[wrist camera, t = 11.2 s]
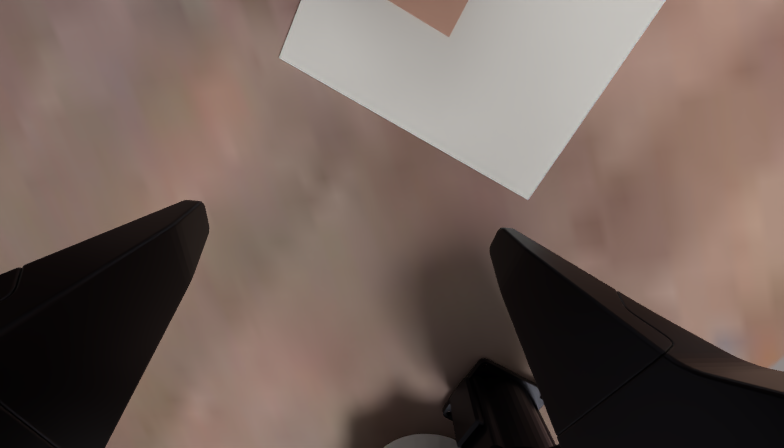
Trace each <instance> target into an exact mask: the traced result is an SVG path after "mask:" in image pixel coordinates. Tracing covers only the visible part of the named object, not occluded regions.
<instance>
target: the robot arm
mask: <svg viewBox="0 0 784 448" xmlns="http://www.w3.org/2000/svg"><path fill="white" fill-rule="evenodd" d="M208 234H209V223H208V218H207V214H206V209H205V205H204V204H203V203H202V202H201V201H192V200H184V201H181V202H179V203H176V204H174V205H171V206H169V207H167V208H164V209H162V210H159V211H157V212H154V213H152V214H149V215H147V216H144V217H142V218H139V219H137V220H134V221H132V222H129V223H127V224H125V225H122V226H120V227H117V228H115V229H112V230H110V231H107V232H105V233H102V234H100V235H97V236H95V237H92V238H90V239H87V240H85V241H83V242H80V243H78V244H75V245H73V246H70V247H68V248H65V249H63V250H60V251H58V252H55V253H53V254H50V255H48V256H45V257H43V258H41V259H38V260H36V261H33V262H31V263H28V264H26V265H24V266H23V268H16V269H13V270H11V271H8V272H6V273H3V274H1V275H0V448H105V447H106V445H107V443H108V441H109V439H110V437H111V435H112V433H113V431H114V429H115V427H116V425H117V423H118V422H119V420H120V418H121V416H122V414H123V412H124V410H125V408H126V406H127V404H128V402H129V400H130V398H131V396H132V395H133V393H134V391H135V389H136V387H137V385H138V383H139V381H140V379H141V377H142V375H143V373H144V371H145V369H146V368H147V366H148V364H149V362H150V360H151V358H152V356H153V354H154V352H155V350H156V348H157V346H158V344H159V342H160V340H161V339H162V337H163V335H164V333H165V331H166V329H167V327H168V325H169V323H170V321H171V319H172V317H173V315H174V313H175V312H176V310H177V308H178V306H179V304H180V302H181V300H182V298H183V296H184V294H185V292H186V290H187V288H188V286H189V284H190V282H191V280H192V278H193V275H194V273H195V270H196V267H197V264H198V262H199V259H200V256H201V253H202V251H203V248H204V245H205V242H206V240H207V237H208ZM490 255H491V259H492V263H493V267H494V270H495V274H496V278H497V281H498V285H499V288H500V292H501V294H502V297H503V300H504V302H505V305H506V307H507V310H508V313H509V315H510V318H511V320H512V323H513V325H514V328H515V330H516V333H517V336H518V338H519V341H520V343H521V346H522V348H523V351H524V354H525V356H526V359H527V361H528V364H529V366H530V369H531V372H532V374H533V377H534V379H535V382H536V384H535V383H533V382H531V381H529V380H527V379H525V378H523V377H521V376H519V375H517V374H515V373H513V372H512V371H510V370H508V369H506V368H504V367H502V366H500V365H498V364H496V363H494V362H492V361H490V360H488V359H486V358H483V359H480V360H479V361H478V363H477V364H476V365H475V367H474V368H473V369H472V370H471V372H470V373H469V374H468V376H467V377H466V378H464V379H463V381H462V382H461V383H460V385H459V386H458V387H457V389H456V390H455V391H454V393H453V394H452V395H451V396H450V398H449V401H448V402H447V403H446V405H445V406H444V407H443V415H444V417H446V418H448V419H450V420H452V421H453V425H454V431H455V437H456V443H457V446H458V448H784V372H782V371H777V370H773V369H769V368H765V367H761V366H758V365H755V364H752V363H749V362H747V361H744V360H742V359H740V358H737V357H735V356H733V355H731V354H729V353H727V352H725V351H724V350H722V349H720V348H718V347H716V346H714V345H713V344H711V343H709V342H707V341H705V340H703V339H702V338H700V337H698V336H696V335H694V334H692V333H691V332H689V331H687V330H685V329H683V328H681V327H680V326H678V325H676V324H674V323H672V322H671V321H669V320H667V319H665V318H663V317H662V316H660V315H658V314H656V313H654V312H653V311H651V310H649V309H647V308H646V307H644V306H642V305H641V304H639V303H637V302H635V301H634V300H632V299H630V298H629V297H627V296H625V295H624V294H622V293H620V292H618V291H616V290H615V289H613V288H612V287H610V286H608V285H607V284H605V283H603V282H602V281H600V280H598V279H597V278H595V277H593V276H592V275H590V274H588V273H587V272H585V271H583V270H582V269H580V268H578V267H577V266H575V265H573V264H572V263H570V262H568V261H567V260H565V259H563V258H562V257H560V256H558V255H556V254H555V253H553V252H551V251H550V250H548V249H546V248H545V247H543V246H541V245H540V244H538V243H536V242H535V241H533V240H531V239H530V238H528V237H526V236H525V235H523V234H521V233H520V232H518V231H516V230H515V229H512V228H500V229H499V230H498V231H497V233H496V235H495V237H494V239H493V242H492V244H491V246H490ZM485 364H486V366H483V365H485ZM543 405H545V407H546V410H547V413H548V415H549V418H550V420H551V423H552V425H553V428H554V431H555V433H556V435H557V439H558V441H559V444H558V445H556V444H555V442H554V440H553V438H552V436H551V434H550V432H549V430H548V428H547V426H546V424H545V422H544V420H543V418H542V416H541V414H540V412H539V409H540V408H541V407H542V406H543ZM448 411H450V412H448Z"/></svg>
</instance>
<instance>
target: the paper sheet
mask: <svg viewBox="0 0 784 448" xmlns="http://www.w3.org/2000/svg"><path fill="white" fill-rule="evenodd" d="M665 1H666V0H301V2H300V4H299V7H298V10H297V12H296V15H295V17H294V20H293V23H292V25H291V28H290V30H289V33H288V36H287V38H286V41H285V43H284V46H283V49H282V51H281V54H280V56H279V58H280V59H282V60H283V61H285V62H287V63H289V64H290V65H292V66H294V67H296V68H297V69H299V70H301V71H303V72H304V73H306V74H308V75H310V76H311V77H313V78H315V79H317V80H318V81H320V82H322V83H324V84H325V85H327V86H329V87H331V88H332V89H334V90H336V91H338V92H339V93H341V94H343V95H345V96H346V97H348V98H350V99H352V100H353V101H355V102H357V103H359V104H360V105H362V106H364V107H366V108H367V109H369V110H371V111H373V112H374V113H376V114H378V115H380V116H381V117H383V118H385V119H387V120H388V121H390V122H392V123H394V124H395V125H397V126H399V127H401V128H402V129H404V130H406V131H408V132H409V133H411V134H413V135H415V136H416V137H418V138H420V139H422V140H423V141H425V142H427V143H429V144H430V145H432V146H434V147H436V148H437V149H439V150H441V151H443V152H444V153H446V154H448V155H450V156H451V157H453V158H455V159H457V160H458V161H460V162H462V163H464V164H465V165H467V166H469V167H471V168H472V169H474V170H476V171H478V172H480V173H481V174H483V175H485V176H487V177H488V178H490V179H492V180H494V181H495V182H497V183H499V184H501V185H502V186H504V187H506V188H508V189H509V190H511V191H513V192H515V193H516V194H518V195H520V196H522V197H523V198H525V199H527V200H529V198H530V197H531V195H532V194H533V192H534V191H535V189H536V188H537V187H538V185H539V184H540V182H541V181H542V179H543V178H544V176H545V175H546V174H547V172H548V171H549V169H550V168H551V166H552V165H553V163H554V162H555V160H556V159H557V158H558V156H559V155H560V153H561V152H562V150H563V149H564V147H565V146H566V145H567V143H568V142H569V140H570V139H571V137H572V136H573V134H574V133H575V131H576V130H577V129H578V127H579V126H580V124H581V123H582V121H583V120H584V118H585V117H586V115H587V114H588V113H589V111H590V110H591V108H592V107H593V105H594V104H595V102H596V101H597V100H598V98H599V97H600V95H601V94H602V92H603V91H604V89H605V88H606V86H607V85H608V84H609V82H610V81H611V79H612V78H613V76H614V75H615V73H616V72H617V71H618V69H619V68H620V66H621V65H622V63H623V62H624V60H625V59H626V57H627V56H628V55H629V53H630V52H631V50H632V49H633V47H634V46H635V44H636V43H637V42H638V40H639V39H640V37H641V36H642V34H643V33H644V31H645V30H646V28H647V27H648V26H649V24H650V23H651V21H652V20H653V18H654V17H655V15H656V14H657V12H658V11H659V10H660V8H661V7H662V5H663V4H664V2H665Z"/></svg>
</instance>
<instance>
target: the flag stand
mask: <svg viewBox="0 0 784 448" xmlns="http://www.w3.org/2000/svg"><path fill="white" fill-rule="evenodd" d="M384 448H458V446H457V443H456V440H454V439H452V438H449V437H445V436H441V435H435V434H414V435H410V436H405V437H402V438H399V439H397V440H394V441H392V442H391V443H389V444H388V445H386V446H385V447H384Z"/></svg>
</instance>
